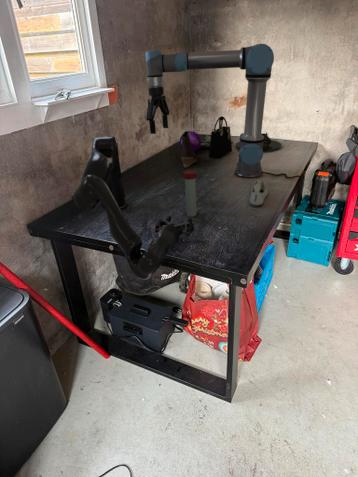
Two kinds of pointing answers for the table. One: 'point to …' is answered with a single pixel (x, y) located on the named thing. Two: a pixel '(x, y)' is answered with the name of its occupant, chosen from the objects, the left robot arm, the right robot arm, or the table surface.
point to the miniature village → (267, 144)
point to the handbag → (220, 140)
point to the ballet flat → (258, 193)
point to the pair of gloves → (207, 142)
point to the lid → (190, 174)
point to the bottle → (191, 197)
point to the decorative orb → (193, 141)
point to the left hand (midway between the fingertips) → (180, 219)
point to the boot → (187, 151)
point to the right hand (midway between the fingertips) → (159, 130)
